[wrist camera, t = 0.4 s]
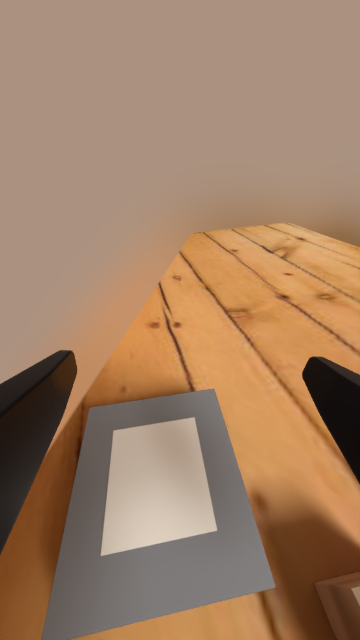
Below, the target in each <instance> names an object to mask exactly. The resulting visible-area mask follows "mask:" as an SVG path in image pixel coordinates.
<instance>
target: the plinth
mask: <svg viewBox="0 0 360 640" xmlns="http://www.w3.org/2000/svg"><path fill="white" fill-rule="evenodd" d="M275 587H276V586H275V583H274V579H273V576H272V573H271V570H270V567H269V563H268V560H267V557H266V554H265V550H264V547H263V544H262V541H261V538H260V534H259V531H258V528H257V525H256V522H255V518H254V515H253V512H252V509H251V505H250V502H249V499H248V496H247V493H246V489H245V486H244V483H243V480H242V476H241V473H240V470H239V467H238V464H237V460H236V457H235V454H234V451H233V447H232V444H231V441H230V438H229V435H228V431H227V428H226V425H225V422H224V418H223V415H222V412H221V409H220V406H219V402H218V399H217V396H216V393H215V389H208V390H201V391H195V392H188V393H181V394H175V395H168V396H162V397H155V398H149V399H142V400H136V401H129V402H123V403H116V404H109V405H103V406H96V407H90V408H89V412H88V417H87V422H86V427H85V431H84V436H83V441H82V446H81V451H80V456H79V460H78V465H77V470H76V475H75V480H74V484H73V489H72V494H71V499H70V504H69V508H68V513H67V518H66V523H65V528H64V533H63V537H62V542H61V547H60V552H59V557H58V561H57V566H56V571H55V576H54V581H53V586H52V590H51V595H50V600H49V605H48V610H47V614H46V619H45V624H44V629H43V634H42V639H41V640H69V639H73V638H77V637H81V636H85V635H89V634H93V633H97V632H101V631H105V630H109V629H113V628H117V627H121V626H125V625H129V624H133V623H137V622H141V621H145V620H149V619H152V618H156V617H160V616H164V615H168V614H172V613H176V612H180V611H184V610H188V609H192V608H196V607H200V606H204V605H208V604H212V603H216V602H220V601H224V600H228V599H232V598H236V597H240V596H244V595H248V594H252V593H256V592H260V591H264V590H268V589H271V588H275Z"/></svg>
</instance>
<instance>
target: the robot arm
mask: <svg viewBox="0 0 360 640" xmlns="http://www.w3.org/2000/svg"><path fill="white" fill-rule="evenodd" d="M76 375H77V365H76V361H75V356H74V353H73V352H72V351H71V350H60V351H58V352H56V353H54V354H52V355H51V356H49V357H47V358H45V359H44V360H42V361H40V362H38V363H37V364H35V365H33V366H31V367H29V368H28V369H26V370H24V371H22V372H21V373H19V374H17V375H15V376H14V377H12V378H10V379H8V380H7V381H5V382H3V383H1V384H0V554H1V552H2V550H3V548H4V545H5V543H6V541H7V539H8V536H9V534H10V532H11V530H12V528H13V525H14V523H15V521H16V519H17V517H18V514H19V512H20V510H21V508H22V506H23V503H24V501H25V499H26V497H27V495H28V492H29V490H30V488H31V486H32V483H33V481H34V479H35V477H36V475H37V472H38V470H39V468H40V466H41V464H42V461H43V459H44V457H45V455H46V453H47V450H48V448H49V446H50V444H51V442H52V439H53V437H54V435H55V433H56V430H57V428H58V426H59V424H60V422H61V419H62V417H63V414H64V411H65V409H66V405H67V403H68V399H69V396H70V393H71V390H72V387H73V384H74V381H75V378H76ZM302 377H303V380H304V382H305V384H306V386H307V388H308V390H309V393H310V395H311V397H312V399H313V401H314V403H315V406H316V408H317V410H318V412H319V414H320V416H321V418H322V419H323V421H324V423H325V425H326V426H327V428H328V430H329V432H330V433H331V435H332V437H333V439H334V440H335V442H336V444H337V445H338V447H339V449H340V451H341V452H342V454H343V456H344V458H345V459H346V461H347V463H348V465H349V466H350V468H351V470H352V472H353V473H354V475H355V477H356V478H357V480H358V482H359V484H360V375H359V374H357V373H355V372H353V371H351V370H348V369H346V368H344V367H342V366H340V365H338V364H336V363H334V362H332V361H330V360H328V359H326V358H324V357H311V358H309V360H308V362H307V364H306V366H305V368H304V370H303V372H302Z"/></svg>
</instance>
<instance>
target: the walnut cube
mask: <svg viewBox="0 0 360 640" xmlns="http://www.w3.org/2000/svg"><path fill="white" fill-rule="evenodd" d="M314 585H315V588H316V590H317V593H318V595H319V598H320V600H321V603H322V605H323V608H324V610H325V613H326V615H327V618H328V620H329V622H330V625H331V627H332V630H333V632H334V635H335V637H336V640H360V571H358V572H354V573H350V574H346V575H342V576H338V577H334V578H330V579H326V580H322V581H318V582H315V583H314Z"/></svg>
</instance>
